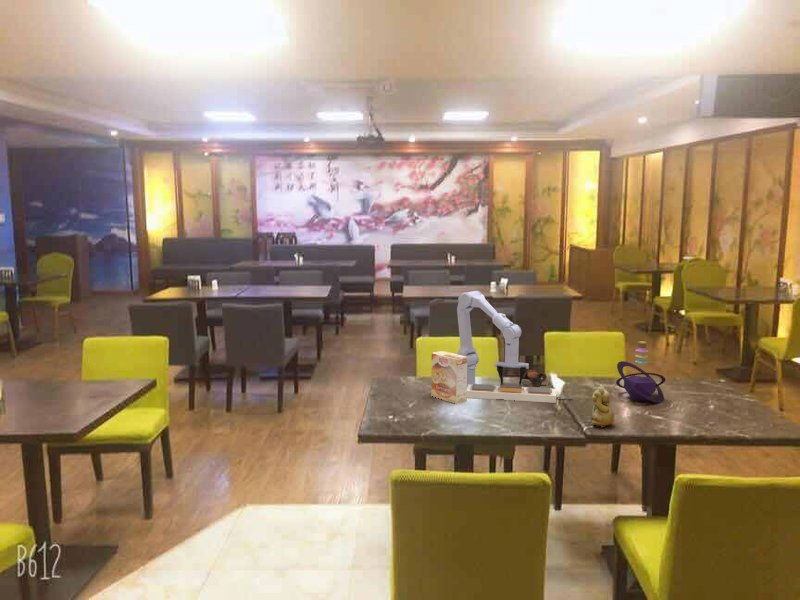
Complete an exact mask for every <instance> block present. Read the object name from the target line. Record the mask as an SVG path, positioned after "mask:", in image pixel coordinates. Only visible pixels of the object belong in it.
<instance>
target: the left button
mask: <svg viewBox="0 0 800 600" xmlns="http://www.w3.org/2000/svg"><path fill="white" fill-rule="evenodd" d="M494 386H495V385H494V384H484V383H483V384H482V383H481V384H480V383H479V384H478V383H476V384H473V386H472V391H486V392H494Z"/></svg>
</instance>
